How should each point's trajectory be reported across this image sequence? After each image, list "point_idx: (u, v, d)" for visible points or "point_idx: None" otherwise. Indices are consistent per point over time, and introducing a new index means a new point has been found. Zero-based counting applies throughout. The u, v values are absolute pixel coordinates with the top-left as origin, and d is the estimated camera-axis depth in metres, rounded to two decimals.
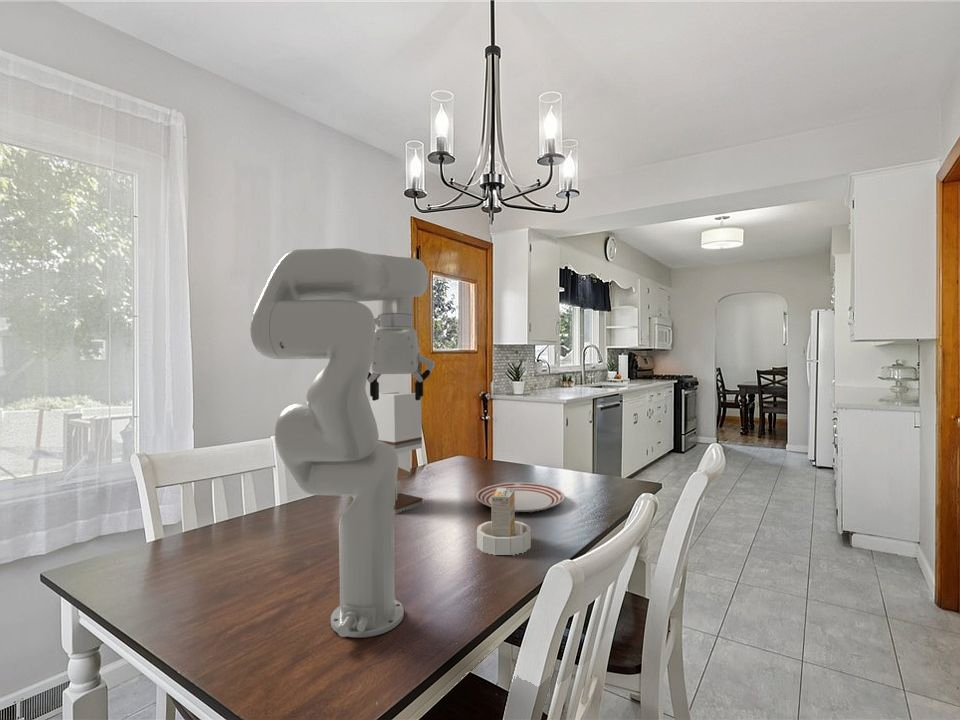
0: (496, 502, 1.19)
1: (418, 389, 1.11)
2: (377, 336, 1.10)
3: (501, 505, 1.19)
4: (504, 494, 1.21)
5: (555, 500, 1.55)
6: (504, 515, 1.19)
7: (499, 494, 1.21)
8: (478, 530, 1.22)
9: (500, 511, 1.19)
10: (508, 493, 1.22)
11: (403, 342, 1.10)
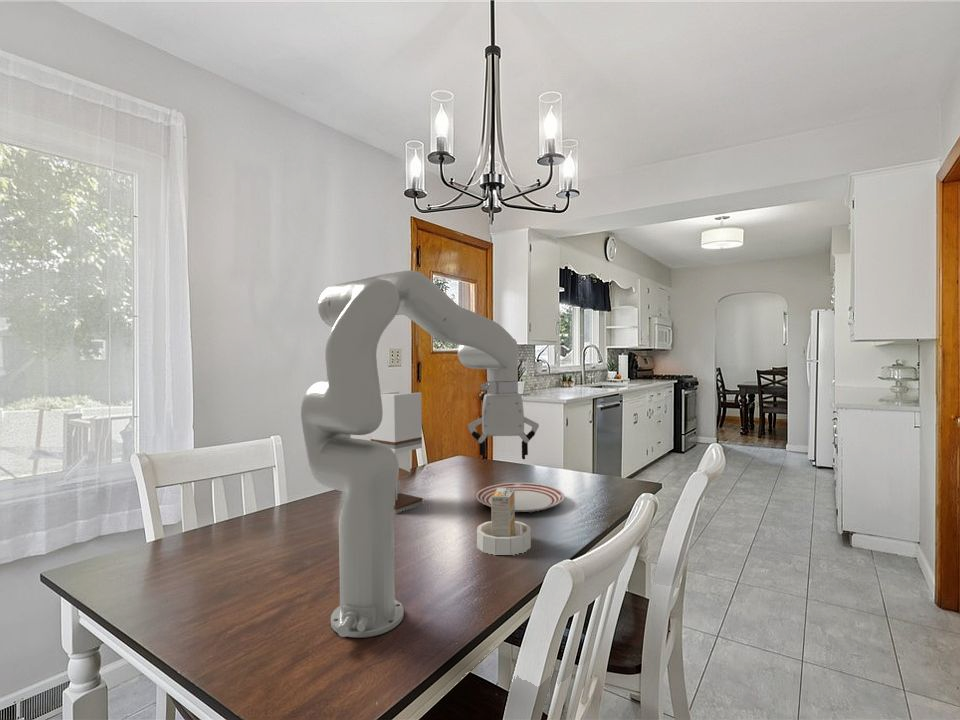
0: (496, 502, 1.19)
1: (524, 449, 1.22)
2: (487, 401, 1.21)
3: (501, 505, 1.19)
4: (504, 494, 1.21)
5: (555, 500, 1.55)
6: (504, 515, 1.19)
7: (499, 494, 1.21)
8: (478, 530, 1.22)
9: (500, 511, 1.19)
10: (508, 493, 1.22)
11: (512, 407, 1.20)
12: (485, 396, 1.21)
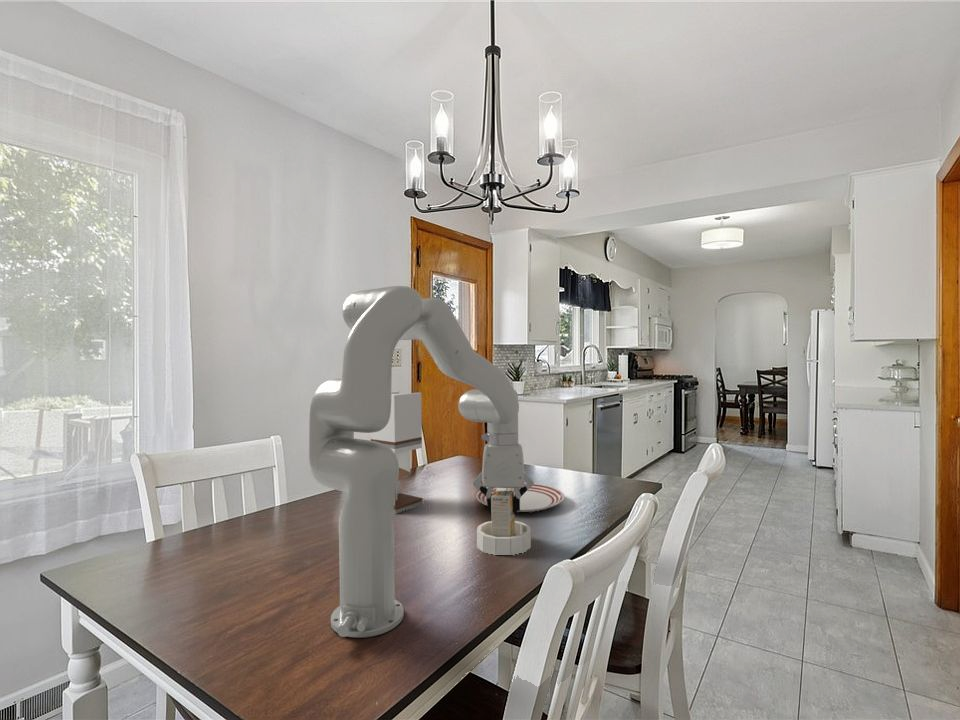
0: (496, 502, 1.19)
1: (516, 505, 1.22)
2: (488, 453, 1.21)
3: (501, 505, 1.19)
4: (504, 494, 1.21)
5: (555, 500, 1.55)
6: (504, 515, 1.19)
7: (499, 494, 1.21)
8: (478, 530, 1.22)
9: (500, 511, 1.19)
10: (508, 493, 1.22)
11: (512, 459, 1.20)
12: (485, 447, 1.21)
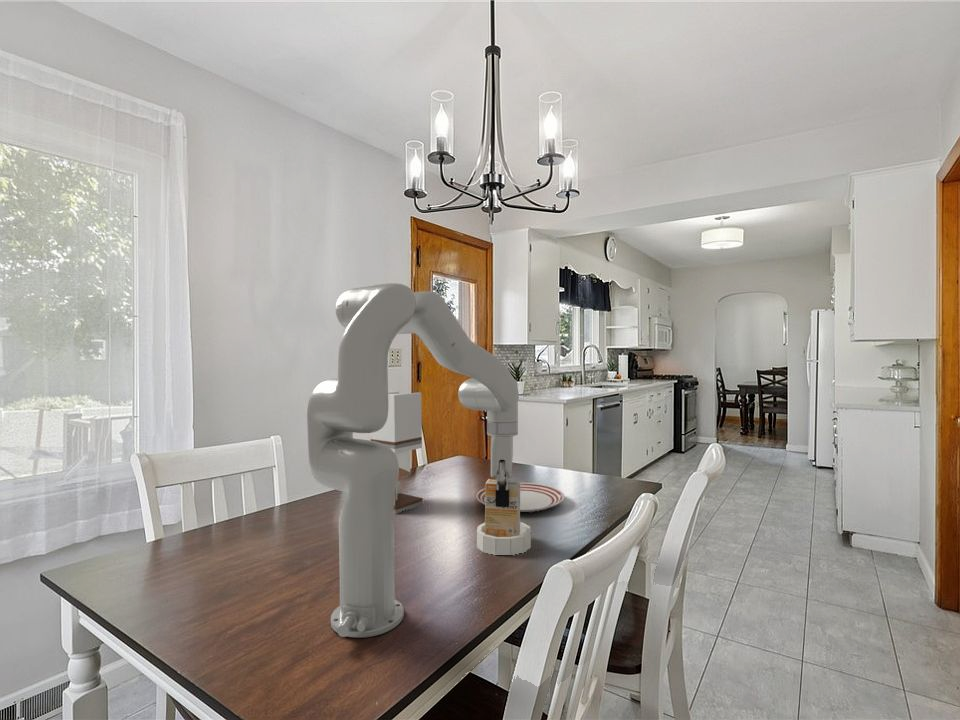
0: None
1: (497, 496, 1.20)
2: None
3: None
4: (493, 481, 1.23)
5: (555, 500, 1.55)
6: None
7: (494, 480, 1.24)
8: (478, 530, 1.22)
9: None
10: None
11: None
12: None
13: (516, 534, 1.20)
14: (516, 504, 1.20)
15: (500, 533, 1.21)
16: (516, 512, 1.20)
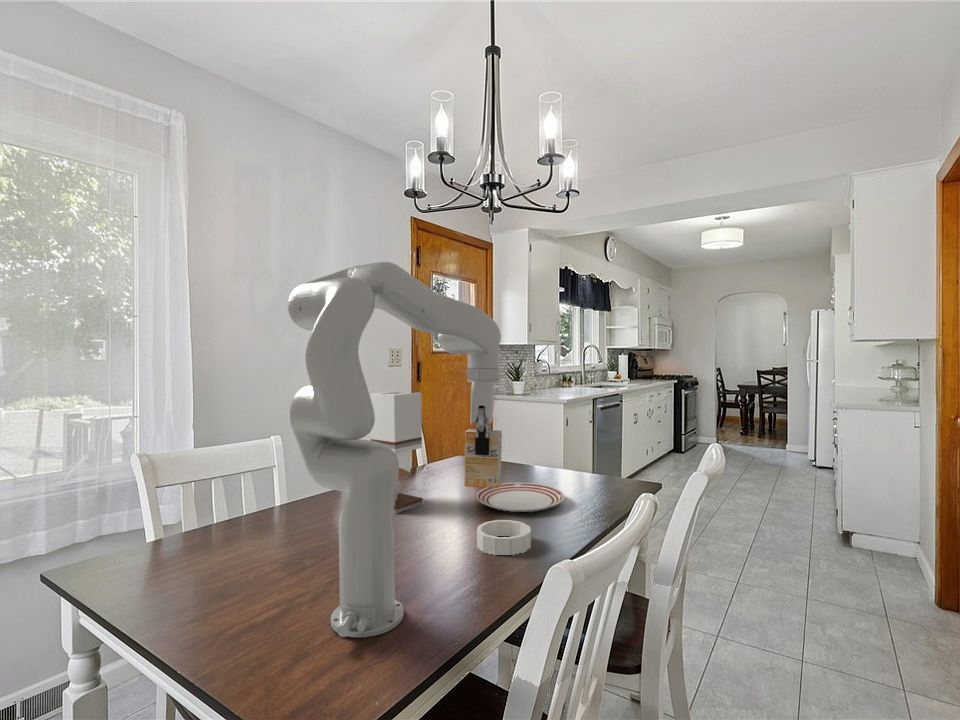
0: None
1: (476, 444, 1.16)
2: None
3: None
4: (474, 430, 1.19)
5: (555, 500, 1.55)
6: None
7: None
8: (478, 530, 1.22)
9: None
10: None
11: None
12: None
13: (496, 483, 1.16)
14: (496, 452, 1.16)
15: (480, 482, 1.17)
16: (496, 461, 1.16)
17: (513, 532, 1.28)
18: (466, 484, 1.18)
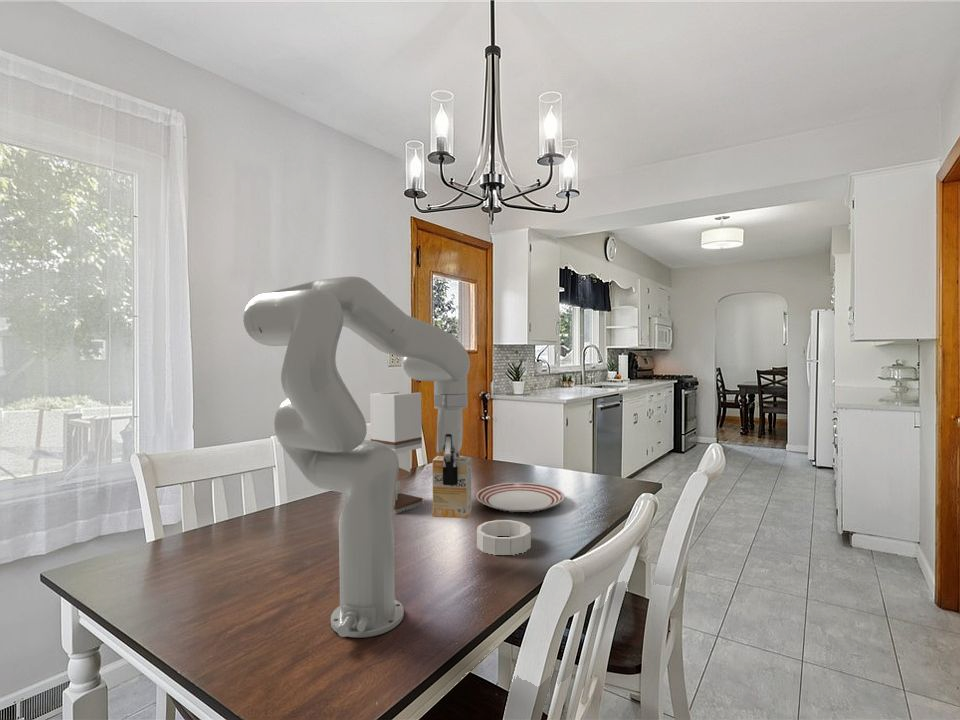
0: None
1: (444, 474, 1.11)
2: None
3: None
4: (441, 458, 1.14)
5: (555, 500, 1.55)
6: None
7: (442, 457, 1.15)
8: (478, 530, 1.22)
9: None
10: None
11: None
12: None
13: (465, 514, 1.12)
14: (465, 482, 1.11)
15: (449, 512, 1.12)
16: (465, 490, 1.12)
17: (513, 532, 1.28)
18: (434, 514, 1.13)
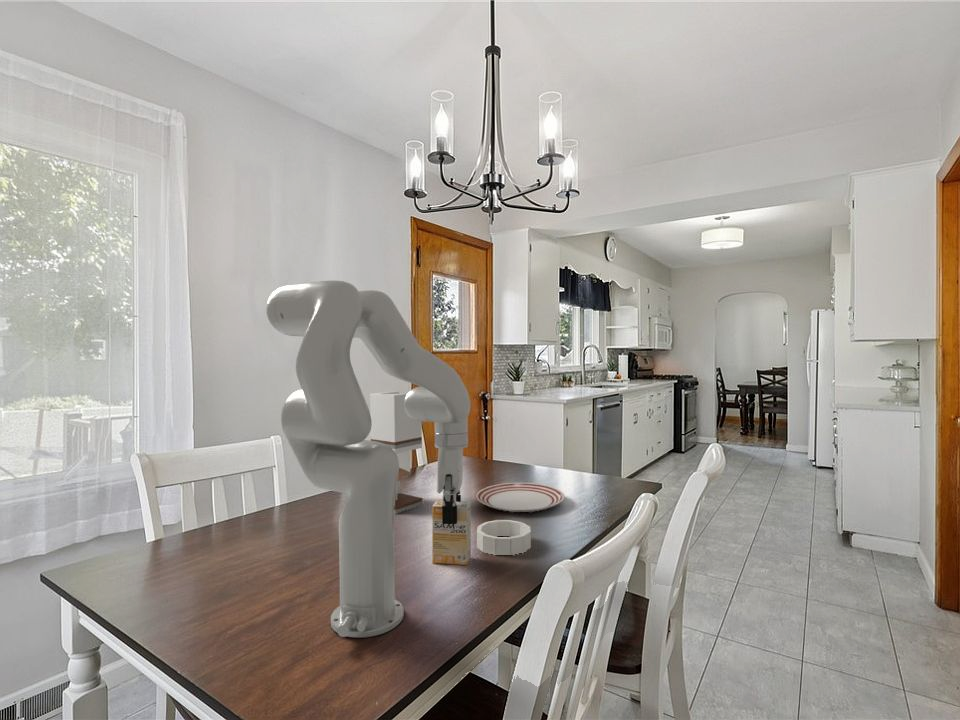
0: None
1: (443, 513, 1.10)
2: None
3: None
4: (441, 503, 1.14)
5: (555, 500, 1.55)
6: None
7: (442, 502, 1.15)
8: (478, 530, 1.22)
9: None
10: None
11: None
12: None
13: (465, 560, 1.11)
14: (465, 528, 1.11)
15: (449, 559, 1.12)
16: (465, 537, 1.11)
17: (513, 532, 1.28)
18: (434, 561, 1.13)
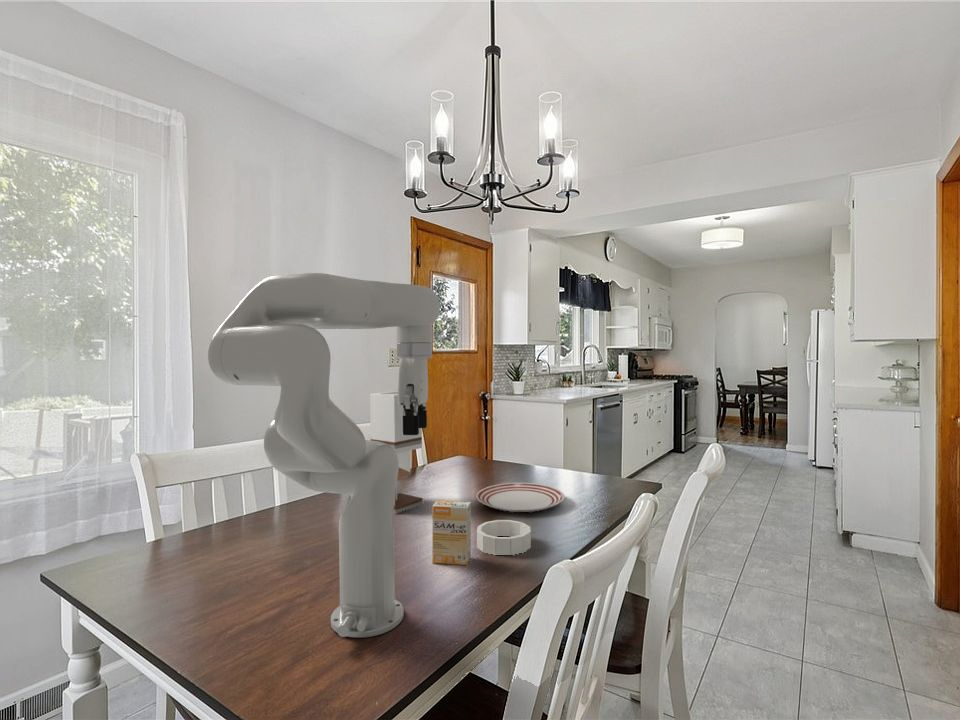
0: None
1: (404, 423, 1.04)
2: None
3: None
4: (441, 503, 1.14)
5: (555, 500, 1.55)
6: None
7: (442, 502, 1.15)
8: (478, 530, 1.22)
9: None
10: (447, 505, 1.13)
11: None
12: None
13: (465, 560, 1.11)
14: (465, 528, 1.11)
15: (449, 559, 1.12)
16: (465, 537, 1.11)
17: (513, 532, 1.28)
18: (434, 561, 1.13)
